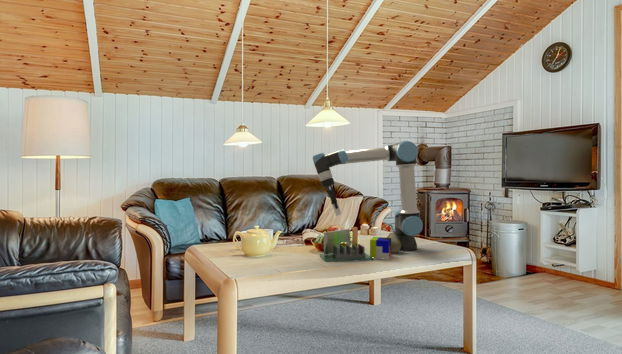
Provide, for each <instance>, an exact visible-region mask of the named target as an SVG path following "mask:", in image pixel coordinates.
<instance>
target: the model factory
mask: <svg viewBox="0 0 622 354" xmlns="http://www.w3.org/2000/svg"><path fill="white" fill-rule="evenodd" d="M358 230H359V229H358V227H356V226H351V227H350V231H352V233H351V234H352V235H351V236H352V241H351V243H352V244H351V245H350V246H349V245H348V244H346V248H345V247H344V246H343V245H340V252H339V247H337V246H336V245H333V253H330V254H324V253H320V254H319V257H321V259H323V261H324V262H327V263H329V262H332V261H333V262H350V261H351V262H353V261H354V260H359V261H373V260H374V258H372V257H370V254H367V253H366V252H365V248H366V247H365V246H363V245H362V244H361V243H359V242H358V240H359V238H358V235H359V234H358ZM354 262H355V261H354Z"/></svg>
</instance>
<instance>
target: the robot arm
mask: <svg viewBox="0 0 622 354" xmlns="http://www.w3.org/2000/svg"><path fill="white" fill-rule="evenodd" d="M418 154H419V149H418V147H417V145H416V144H415V143H414V142H412V141H408V140H405V141H403V140H402V141H400V142H397V143H394V144H388V145H386V146H384V147H376V148H365V149H355V150H347V151H346V150H345V149H340V150H337V151H335V152H331V153H329V154H325V152H318V153H316V154H314V155H313V156H312V161H313V165H314V167H315V171H316V174H317V175H318V176H317V178H318V179H319V182H320V185H321V188H323V189H324V188H325V189H326V188H327V189H326V193H327V195H328V197H329V198H330V202H331V205H332V208H333V210H334V214H335V216H336V217H337V216H340V215H341V214H342V212H341V208H340V205H339V202H338V200H337V197H336V195H335V189H334V187H333V185H335V184H336V182H335V180H334V178H333V174H332V171H331V169H330V168H332V167H335V166H339V165H348V164H357V163H366V162H368V163H369V162H377V161H378V162H379V161H387V162H395V166H396V167H397V168H398V171H399V174H398V175H399V188H400V189H399V190H400V201H401V202H400V205H401V210H398V211H397V210H396V211H395V213H394V231H395V234H396V235H397V236H398V239H399V240H400V241H401V244H402V245H401V248H400V250H399V251H401V250H413V251H416V250H415V249H417V250H418V244H417V241H416V238H415V236H418V235H419V234H420V233H421V232H422V231H423V229H424V228H423V226H424V224H423V221H422V219H421V211H420V210H419V209H418V206H417V205H418V204H417V191H416V174H415V167H416V166H417V165H418V164H417V163H418V162H417V158H418Z"/></svg>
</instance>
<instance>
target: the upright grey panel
mask: <svg viewBox="0 0 622 354" xmlns="http://www.w3.org/2000/svg"><path fill="white" fill-rule="evenodd" d="M350 234H351V228H345V229H337V230H331V231H330V230H329V231H323V254H333V245H336V246H337V247H339V252H340V243H341V242H348V245H349V246H351V245H350V244H351V235H350ZM345 248H346V247H345Z"/></svg>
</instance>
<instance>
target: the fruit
mask: <svg viewBox="0 0 622 354" xmlns="http://www.w3.org/2000/svg"><path fill="white" fill-rule="evenodd" d="M386 238H391V252H392V253H391V254H396V253H398V252H399V251H401V250H400V248H401V245H402V244H401V241H400V240H399V239H398V236H397V235H396V234H395V230H394V231H393V232H390V233H388V235H387V236H386Z"/></svg>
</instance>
